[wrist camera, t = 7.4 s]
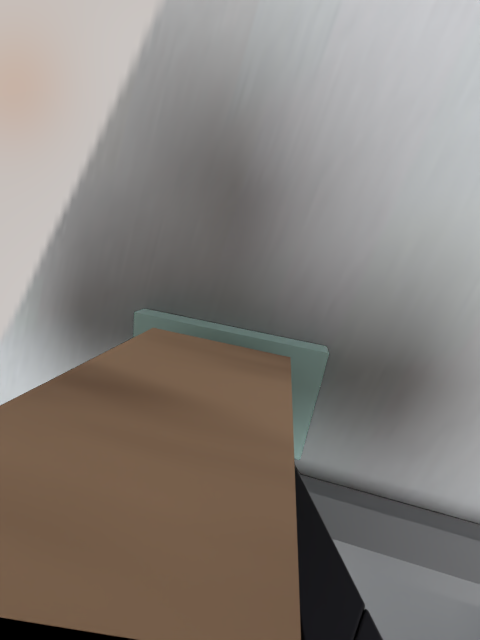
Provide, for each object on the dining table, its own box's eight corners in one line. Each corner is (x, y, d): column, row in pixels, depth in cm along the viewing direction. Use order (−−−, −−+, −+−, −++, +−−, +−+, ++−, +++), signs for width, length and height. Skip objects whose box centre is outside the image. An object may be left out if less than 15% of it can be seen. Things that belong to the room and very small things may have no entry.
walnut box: (263, 474, 10) (205, 1013, 3) (145, 440, 10) (-139, 806, 3) (290, 357, 8) (309, 831, 1) (153, 327, 9) (-283, 550, 2)
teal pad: (326, 345, 10) (329, 353, 9) (299, 446, 11) (300, 460, 11) (144, 308, 11) (134, 312, 10) (139, 404, 12) (129, 413, 12)
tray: (557, 546, 10) (639, 633, 8) (434, 722, 14) (464, 817, 12) (155, 434, 13) (125, 475, 10) (142, 609, 16) (117, 668, 14)
